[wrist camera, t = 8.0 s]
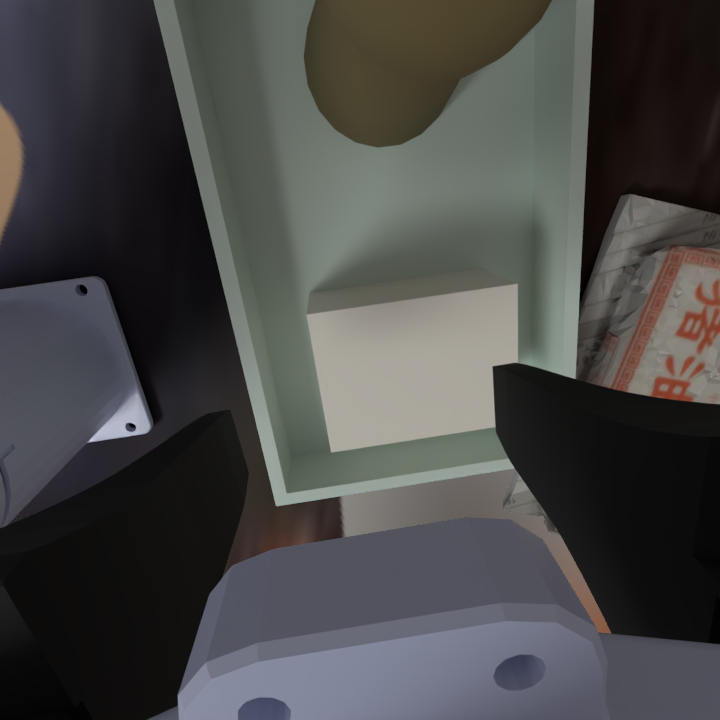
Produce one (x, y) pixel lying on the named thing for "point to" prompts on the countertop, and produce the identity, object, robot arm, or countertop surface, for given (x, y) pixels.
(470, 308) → the white box
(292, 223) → the box
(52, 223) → the countertop surface
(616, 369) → the packaged product
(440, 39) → the brown rounded lobed piece
